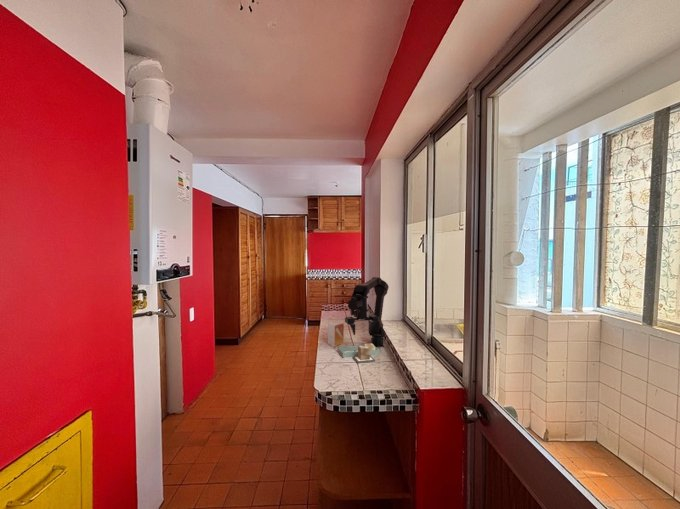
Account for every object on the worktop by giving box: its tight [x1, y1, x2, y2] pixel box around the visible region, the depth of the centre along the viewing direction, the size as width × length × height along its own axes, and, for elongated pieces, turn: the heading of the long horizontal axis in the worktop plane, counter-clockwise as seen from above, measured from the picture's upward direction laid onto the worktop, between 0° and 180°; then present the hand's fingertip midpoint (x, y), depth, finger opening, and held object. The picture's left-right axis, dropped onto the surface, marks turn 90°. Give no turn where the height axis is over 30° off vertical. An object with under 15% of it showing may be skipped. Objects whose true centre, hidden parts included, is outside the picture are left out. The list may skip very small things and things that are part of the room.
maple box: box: [363, 342, 375, 350], centre depth 179 cm, size 5×7×4 cm
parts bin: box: [337, 344, 380, 358], centre depth 177 cm, size 22×11×2 cm, turn 106°
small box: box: [327, 321, 345, 347], centre depth 193 cm, size 8×6×13 cm
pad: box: [352, 355, 376, 364], centre depth 165 cm, size 10×8×1 cm
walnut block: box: [357, 345, 371, 360], centre depth 165 cm, size 5×5×6 cm
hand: (361, 334), depth 174 cm, fingers open, 9 cm apart
